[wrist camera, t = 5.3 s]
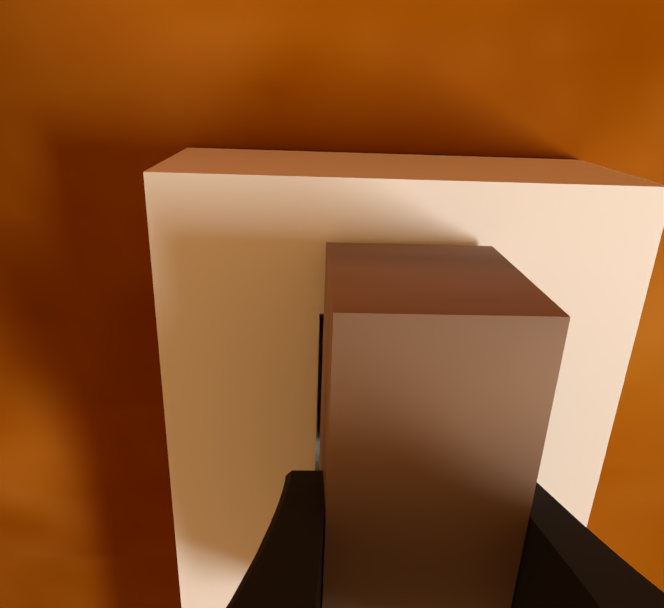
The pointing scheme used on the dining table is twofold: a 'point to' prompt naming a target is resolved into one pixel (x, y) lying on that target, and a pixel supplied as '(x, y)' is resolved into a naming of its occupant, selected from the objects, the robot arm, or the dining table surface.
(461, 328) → the rail end
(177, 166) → the white rectangular box
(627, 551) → the dining table surface
